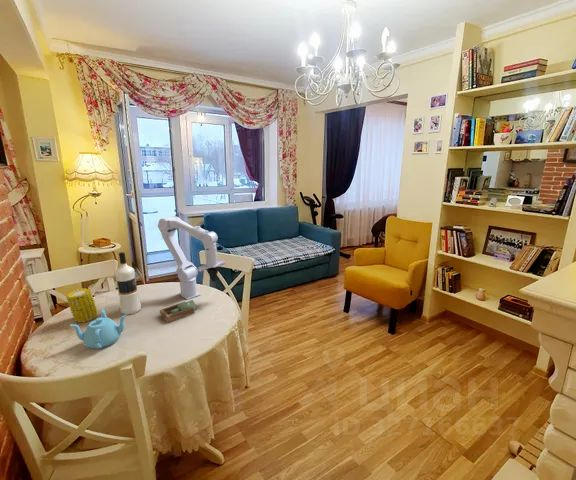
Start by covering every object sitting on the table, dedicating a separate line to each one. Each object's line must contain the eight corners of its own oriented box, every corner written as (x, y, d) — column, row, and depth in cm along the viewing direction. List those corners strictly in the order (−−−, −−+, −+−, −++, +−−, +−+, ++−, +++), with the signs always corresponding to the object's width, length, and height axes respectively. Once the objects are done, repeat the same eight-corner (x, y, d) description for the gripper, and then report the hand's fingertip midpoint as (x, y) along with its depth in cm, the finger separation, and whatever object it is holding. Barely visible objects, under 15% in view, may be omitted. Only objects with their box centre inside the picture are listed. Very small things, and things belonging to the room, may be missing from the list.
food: (102, 318, 144) (80, 329, 135) (87, 308, 148) (65, 318, 140) (100, 291, 138) (76, 301, 129) (84, 282, 142) (60, 291, 134)
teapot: (97, 356, 113) (92, 331, 110) (72, 346, 119) (67, 323, 116) (131, 336, 126) (127, 313, 123) (107, 328, 132) (103, 307, 129)
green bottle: (190, 306, 150) (169, 313, 142) (191, 298, 147) (169, 305, 140) (195, 311, 147) (173, 320, 139) (196, 303, 144) (174, 311, 137)
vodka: (118, 310, 148) (108, 252, 140) (138, 304, 154) (130, 248, 146) (122, 317, 141) (112, 256, 133) (143, 311, 147) (134, 252, 139)
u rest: (160, 315, 142) (159, 310, 141) (185, 306, 150) (185, 301, 150) (168, 323, 135) (167, 317, 135) (194, 313, 144) (193, 307, 143)
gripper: (202, 260, 145) (204, 287, 148) (227, 254, 154) (229, 279, 158) (195, 257, 150) (197, 283, 153) (220, 251, 159) (222, 275, 163)
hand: (213, 280), depth 156 cm, fingers closed
